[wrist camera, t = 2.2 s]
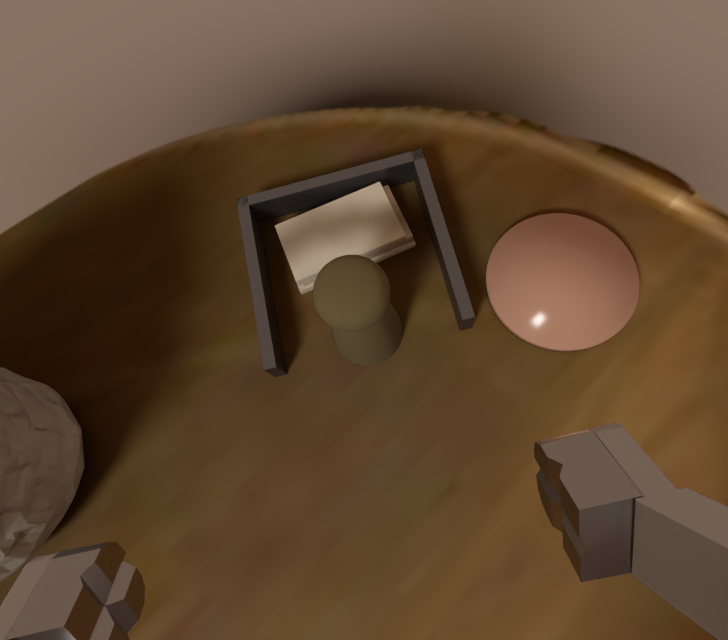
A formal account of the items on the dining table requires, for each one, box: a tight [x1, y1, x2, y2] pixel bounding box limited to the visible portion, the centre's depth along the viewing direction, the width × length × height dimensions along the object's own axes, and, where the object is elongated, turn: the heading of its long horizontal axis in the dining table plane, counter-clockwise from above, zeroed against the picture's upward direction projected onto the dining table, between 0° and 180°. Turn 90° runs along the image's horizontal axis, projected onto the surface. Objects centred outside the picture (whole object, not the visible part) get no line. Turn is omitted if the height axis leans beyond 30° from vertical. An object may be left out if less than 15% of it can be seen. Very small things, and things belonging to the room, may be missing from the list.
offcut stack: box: [275, 182, 416, 294], centre depth 42 cm, size 6×11×3 cm, turn 112°
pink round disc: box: [485, 213, 640, 352], centre depth 40 cm, size 12×12×1 cm
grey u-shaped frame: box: [237, 149, 475, 377], centre depth 41 cm, size 16×17×3 cm
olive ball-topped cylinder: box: [313, 255, 403, 365], centre depth 35 cm, size 6×6×11 cm
